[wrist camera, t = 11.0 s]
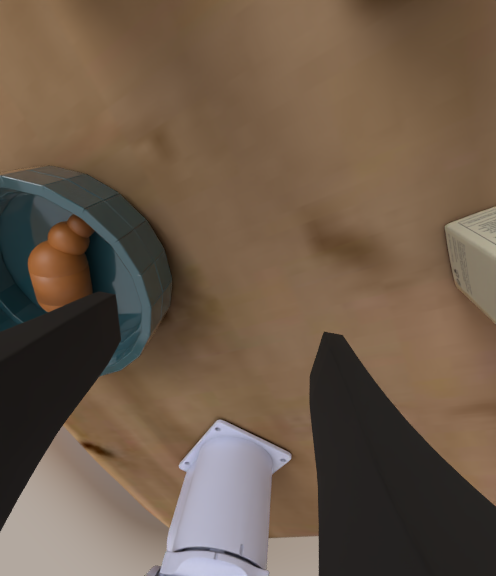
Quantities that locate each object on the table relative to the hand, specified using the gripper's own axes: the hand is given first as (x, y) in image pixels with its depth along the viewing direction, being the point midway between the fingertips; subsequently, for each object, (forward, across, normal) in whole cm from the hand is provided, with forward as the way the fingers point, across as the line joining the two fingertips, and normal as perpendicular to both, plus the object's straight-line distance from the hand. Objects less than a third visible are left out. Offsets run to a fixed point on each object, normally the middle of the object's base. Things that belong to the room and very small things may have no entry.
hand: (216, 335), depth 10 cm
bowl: (+9, +11, +4) cm, 15 cm away
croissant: (+9, +11, +4) cm, 15 cm away
